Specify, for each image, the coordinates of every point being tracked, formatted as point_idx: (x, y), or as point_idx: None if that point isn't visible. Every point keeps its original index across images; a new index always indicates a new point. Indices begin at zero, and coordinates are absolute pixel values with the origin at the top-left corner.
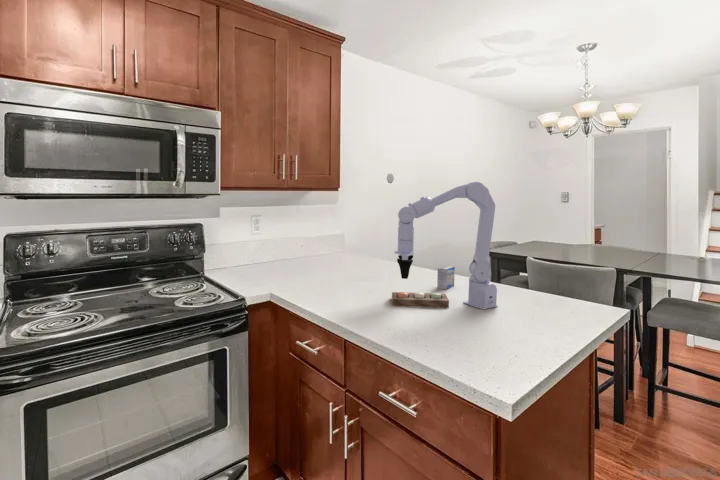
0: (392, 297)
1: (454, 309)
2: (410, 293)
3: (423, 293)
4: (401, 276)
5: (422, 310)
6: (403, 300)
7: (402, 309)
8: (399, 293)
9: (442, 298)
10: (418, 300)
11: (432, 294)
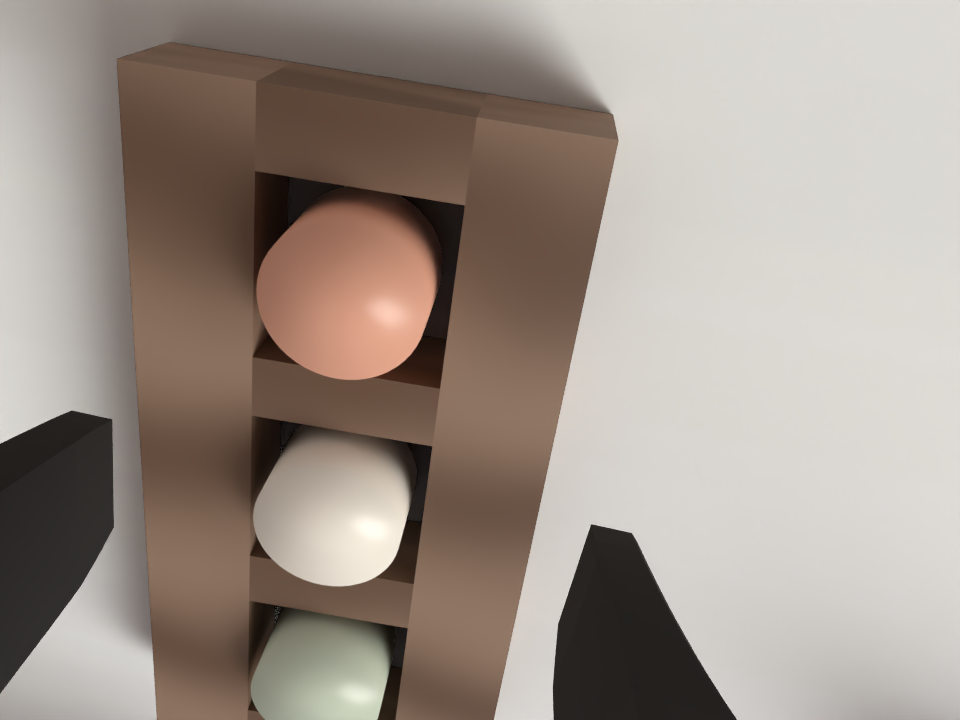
0: (227, 86)
1: (138, 694)
2: (498, 426)
3: (336, 578)
4: (34, 428)
5: (37, 408)
6: (135, 246)
7: (26, 176)
8: (315, 241)
9: (248, 707)
10: (146, 445)
11: (286, 659)
